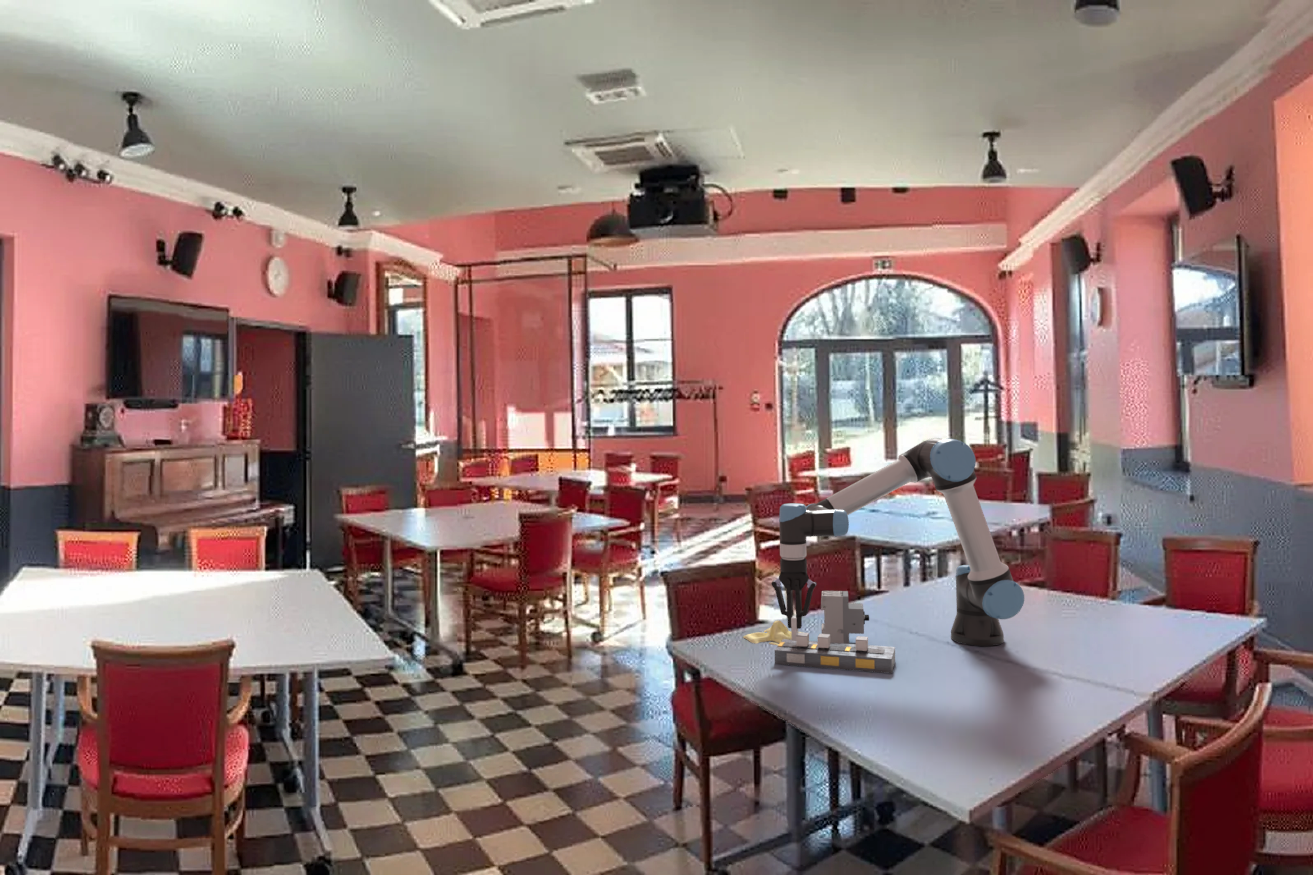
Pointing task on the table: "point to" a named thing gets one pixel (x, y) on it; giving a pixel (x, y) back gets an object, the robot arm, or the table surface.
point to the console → (836, 656)
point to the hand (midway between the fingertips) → (795, 639)
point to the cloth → (771, 634)
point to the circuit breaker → (841, 616)
